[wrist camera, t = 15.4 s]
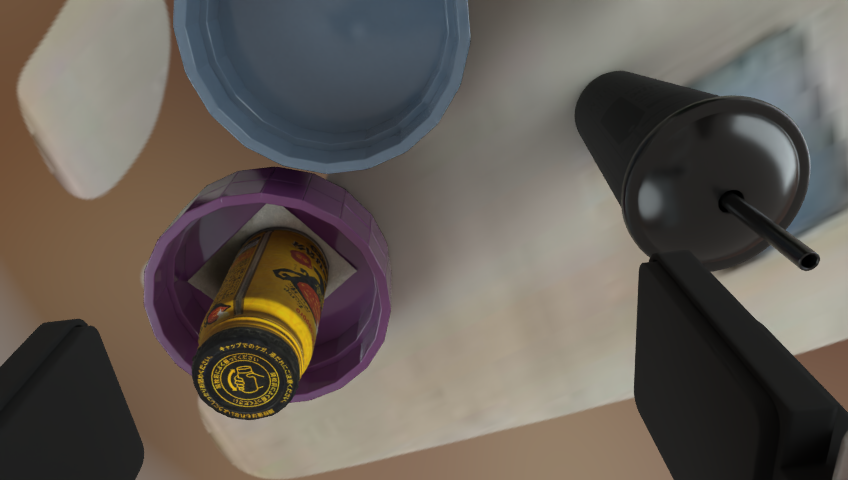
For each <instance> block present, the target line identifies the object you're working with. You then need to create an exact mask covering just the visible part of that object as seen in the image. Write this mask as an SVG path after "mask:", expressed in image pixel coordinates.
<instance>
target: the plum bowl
mask: <svg viewBox="0 0 848 480" xmlns="http://www.w3.org/2000/svg"><path fill="white" fill-rule="evenodd" d="M265 204H272V205H278V206H283V207H285V208H286V209H287V210H288V211H289V212H290V213H291V214H293V215H294V216H295V217H296V218H298V219H299V220H300V221H301V222H303V223H304V224H305V225H306V226H307V227H308V228H309V229H311V230H312V231H313V232H314V233H315V234H316V235H318V236H319V237H320V238H321V239H322V240H323V241H324V242H326V243H327V244H328V245H329V246H330V247H331V248H332V249H333V250H335V251H336V252H337V253H338V254H339V255H340V256H341V257H342V258H344V260H345V261H347V262H348V263H349V264H350V265H351V266H352V267H353V268H355V269H356V270H357V272H355V273H354V274H353V275H352V276H350V277H349V278H348V279H347V280H346V281H345V282H344V283H343V284H341V285H340V286H339V287H338V288H337V289H336V290H335V291H333V292H332V293H331V294H330V295H329V296H328V297H327V298H326V299H324V303H323V308H322V312H321V319H320V322H319V326H318V331H317V335H316V340H315V345H314V350H313V354H312V357H311V360H310V363H309V365H308V367H307V369H306V370H305V372H304V373H303V374H302V376H301V379H300V381H299V387H298V388H297V390H296V394H295V396H294V397H293V399H292V400H291V401H290V402H289V403H292V402H301V401H309V400H312V399H315V398H317V397H320V396H323V395H325V394H328V393H330V392H333V391H335V390H338V389H340V388H342V387H343V386H345V385H346V384H347V383H348V382H350V381H351V380H352V379H353V378H355V377H356V376H357V375H359V374H360V373H361V372H362V371H364V370H365V369H366V368H367V367H368V366H369V364H370V362H371V361H372V359H373V358H374V356H375V355H376V353H377V352H378V350H379V348H380V347H381V345H382V344H383V342H384V340H385V335H386V331H387V326H388V322H389V317H390V312H391V284H392V272H391V266H390V259H389V252H388V246H387V242H386V240H385V239H384V237H383V235H382V233H381V231H380V229H379V227H378V225H377V224H376V222H375V220H374V218H373V216H372V215H371V214H370V213H369V212H368V211H367V210H366V209H365V208H364V207H363V206H362V205H361V204H360V203H359V202H358V201H357V200H356V199H355V198H354V197H353V196H352V195H351V194H350V193H349V192H347V191H346V190H345V189H343V188H341V187H339V186H337V185H335V184H333V183H331V182H329V181H327V180H325V179H324V178H322V177H320V176H317V175H316V174H312V173H308V172H303V171H297V170H292V169H286V168H281V167H267V168H259V169H250V170H242V171H237V172H235V173H233V174H231V175H229V176H227V177H224V178H222V179H220V180H218V181H216V182H214V183H212V184H209V185H207V186H206V187H205V188H204V189H203V190H202V191H201V192H200V193H199V194H198V195H197V196H196V197H195V198H194V199H193V200H192V201H191V202H190V203H189V204H188V205H187V206H186V207H185V208H184V209H183V210H182V211H181V213H180V214H179V215H178V216H177V217H176V218H175V220H174V221H173V222H172V223H171V225H170V226H169V227H168V228H167V229H166V230H165V232H164V233H163V234H162V235H161V236H160V238H159V239H158V241H157V243H156V245H155V248H154V250H153V252H152V254H151V257H150V259H149V261H148V263H147V266H146V268H145V272H144V307H145V310H146V312H147V315H148V318H149V321H150V324H151V327H152V330H153V333H154V335H155V336H156V339H157V340H158V341H159V343H160V344H161V345H162V346H163V348H164V349H165V350H166V352H167V353H168V354H169V356H170V357H171V358H172V359H173V361H174V362H175V363H176V364H177V365H178V366H179V367H180V368H182V369H183V370H185V371H186V372H187V373H189V374H190V375H191V376H192V369H191V367H192V364H193V361H192V358H193V356H194V355H196V352H197V348H198V346H199V343H198V339H199V333H200V328H201V325H202V322H203V320H204V318H205V316H206V314H207V312H208V311H209V309H210V307H211V305H212V303H213V301H214V300H213V299H211V298H210V297H209V296H207V295H206V294H204V293H203V292H202V291H201V290H199V289H197V288H195V287H194V286H193V285H191V284H190V283H189V282H187V281H188V280H189V279H190V278H191V277H192V276H193V275H194V274H196V273H197V272H198V271H199V270H200V269H201V267H202V266H203V265H204V264H205V263H206V262H207V261H208V260H209V259H211V258H212V257H213V256H214V255H215V254H216V253H217V252H218V251H219V250H220V249H221V248H222V247H223V246H224V245H225V244H226V243H227V242H228V241H229V240H230V239H231V238H232V237H233V236H234V235H235V234H236V233H237V232H238V231H239V230H240V229H241V228H242V227H243V226H244V225H245V224H246V223H247V222H248V221H249V220H250V219H251V218H252V217H253V216H254V215H255V214H256V213H257V212H258V211H259V210H260V209H261V208H262V207H263V206H264V205H265Z"/></svg>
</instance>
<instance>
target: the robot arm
mask: <svg viewBox="0 0 848 480" xmlns="http://www.w3.org/2000/svg"><path fill="white" fill-rule="evenodd" d="M634 396H635V402H636V405H637V409H638V411H639V413H640V415H641V417H642V419H643V421H644V423H645V425H646V427H647V429H648V431H649V433H650V434H651V436H652V438H653V440H654V442H655V444H656V446H657V448H658V450H659V452H660V454H661V456H662V458H663V460H664V462H665V463H666V465H667V467H668V469H669V471H670V473H671V475H672V477H673V479H674V480H848V412H847V411H846V410H845V409H844V408H843V407H842V406H841V405H840V404H839V403H838V402H837V401H836V400H835V398H833V396H832V395H831V394H830V393H829V392H828V391H827V390H826V389H825V388H824V387H823V386H822V385H821V384H820V383H819V382H818V381H817V380H816V379H815V378H814V377H813V376H812V375H811V374H810V373H809V372H808V371H807V370H806V369H805V367H803V365H802V364H801V363H800V362H799V361H798V360H797V359H796V358H795V357H794V356H793V355H792V354H791V353H790V352H789V351H788V350H787V349H786V348H785V347H784V346H783V345H782V344H781V343H780V342H779V341H778V340H777V339H776V338H775V336H774V335H773V334H772V333H771V332H770V331H769V330H768V329H767V328H766V327H765V326H764V325H763V324H761V323H760V322H759V321H757V320H756V319H755V318H754V317H753V316H752V315H751V314H750V313H749V312H748V311H747V310H746V309H745V308H744V307H743V306H742V305H741V304H740V302H739V301H738V300H737V299H736V298H735V297H734V296H733V295H732V294H731V293H730V292H729V291H728V290H727V289H726V288H725V287H724V286H723V285H722V284H721V283H720V282H719V281H718V280H717V279H716V278H715V277H714V275H713V274H712V273H711V272H710V271H709V270H708V269H707V268H706V267H705V266H704V265H703V264H702V263H701V262H700V261H699V260H698V259H697V258H696V257H695V256H694V255H693V254H692V253H691V252H690V251H689V250H679V251H670V252H661V253H653V254H652V255H651V257H650V260H649V262H647V263H642V264H641V265H640V268H639V282H638V306H637V329H636V353H635V377H634ZM143 459H144V448H143V443H142V441H141V438H140V436H139V433H138V431H137V428H136V425H135V423H134V420H133V418H132V416H131V413H130V410H129V408H128V405H127V403H126V400H125V398H124V395H123V393H122V390H121V387H120V386H119V382H118V380H117V377H116V375H115V372H114V370H113V367H112V365H111V362H110V360H109V357H108V355H107V352H106V350H105V347H104V344H103V342H102V339H101V337H100V334H99V332H98V331H97V329H96V328H95V327H93V326H88V325H87V324H86V323H85V322H84V321H83V320H81V319H72V320H65V321H55V322H47V323H43V324H42V325H40V326H39V327H38V328H37V329H36V330H35V331H34V332H33V333H32V334H31V335H30V336H29V338H27V340H26V341H25V342H24V343H23V344H22V345H21V346H20V347H19V348H18V349H17V350H16V351H15V352H14V353H13V354H12V355H11V356H10V357H9V358H8V359H7V360H6V362H5V363H4V364H3V365H2V366H1V367H0V480H135V479H136V477H137V475H138V473H139V471H140V468H141V467H142V464H143Z"/></svg>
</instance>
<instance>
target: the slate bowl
mask: <svg viewBox="0 0 848 480" xmlns="http://www.w3.org/2000/svg"><path fill="white" fill-rule="evenodd" d="M173 26H174V32H175V35H176V39H177V43H178V47H179V51H180V54H181V58H182V62H183V65H184V69H185V73H186V75H187V77H188V78H189V80H190V82H191V83H192V85H193V87H194V88H195V90H196V92H197V93H198V95H199V97H200V98H201V100H202V102H203V103H204V105H205V106H206V108H207V110H208V111H209V113H210V114H211V115H212V117H214V118H215V119H216V120H217V121H218V122H219V123H220V124H221V125H222V126H223V127H224V128H226V129H227V130H228V131H229V132H230V133H231V134H232V135H233V136H234V137H235V138H236V139H237V140H238V141H239V142H240V143H242V144H243V145H244V146H245V147H247V148H249V149H251V150H253V151H255V152H257V153H259V154H261V155H263V156H265V157H267V158H269V159H271V160H273V161H274V162H277V163H278V164H280V165H282V166H286V167H291V168H297V169H303V170H308V171H313V172H319V173H324V174H326V173H327V174H331V173H339V172H348V171H357V170H365V169H370V168H372V167H374V166H376V165H379V164H381V163H383V162H385V161H387V160H390V159H392V158H394V157H396V156H399V155H401V154H403V153H405V152H407V151H408V150H409V149H410V148H411V147H413V146H414V145H415V144H416V143H417V142H418V141H419V140H420V139H422V138H423V137H424V136H425V135H426V134H427V133H428V132H429V131H430V130H432V129H433V128H434V127H435V126H436V125H437V124H438V123H439V121H440V120H441V118H442V116H443V114H444V113H445V111H446V109H447V108H448V106H449V104H450V102H451V101H452V99H453V97H454V96H455V94H456V92H457V91H458V89H459V87H460V85H461V81H462V77H463V72H464V68H465V64H466V59H467V55H468V51H469V46H470V42H471V40H470V39H471V35H470V22H469V8H468V0H174V17H173Z"/></svg>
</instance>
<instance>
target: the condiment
mask: <svg viewBox="0 0 848 480" xmlns="http://www.w3.org/2000/svg"><path fill="white" fill-rule="evenodd" d="M355 272H357V270H356V269H355V268H353V267H352V266H351V265H350V264H349V263H348V262H347V261H345V260H344V258H342V257H341V256H340V255H339V254H338V253H337V252H336V251H335V250H333V249H332V248H331V247H330V246H329V245H328V244H327V243H326V242H324V241H323V240H322V239H321V238H320V237H319V236H318V235H316V234H315V233H314V232H313V231H312V230H311V229H309V228H308V227H307V226H306V225H305V224H304V223H303V222H301V221H300V220H299V219H298V218H296V217H295V216H294V215H293V214H291V213H290V212H289V211H288V210H287V209H286V208H285V207H283V206H278V205H272V204H265V205H264V206H263V207H262V208H261V209H260V210H259V211H258V212H257V213H256V214H255V215H254V216H253V217H252V218H251V219H250V220H249V221H248V222H247V223H246V224H245V225H244V226H243V227H242V228H241V229H240V230H239V231H238V232H237V233H236V234H235V235H234V236H233V237H232V238H231V239H230V240H229V241H228V242H227V243H226V244H225V245H224V246H223V247H222V248H221V249H220V250H219V251H218V252H217V253H216V254H215V255H214V256H213V257H212V258H211V259H209V260H208V261H207V262H206V263H205V264H204V265H203V266H202V267H201V269H200V270H199V271H198V272H197V273H196V274H194V275H193V276H192V277H191V278H190V279H189V280H188V281H187V282H189V283H190V284H191V285H193V286H194V287H195V288H197V289H199V290H201V291H202V292H203V293H204V294H206V295H207V296H209V297H210V298H211V299H213V300H214V301H213V303H212V305H211V307H210V309H209V311H208V312H207V314H206V316H205V318H204V320H203V322H202V325H201V328H200V333H199V339H198V343H199V346H198V348H197V352H196V355H194V356H193V358H192V361H193V364H192V367H191V369H192V378H193V381H194V386H195V388H196V390H197V392H198V394H199V396H200V398H201V399H202V400H203V401H204V402H205V403H206V404H207V405H208V406H210V407H212V408H213V409H214V410H215V411H216V412H219V413H221V414H223V415H226V416H227V417H231V418H236V419H244V420H255V419H260V418H264V417H268V416H272V415H274V414H276V413H278V412H279V411H280V410H282V409H283V408H284V407H286V405H287V404H288V403H289V402H290V401H291V400H292V399H293V397H294V396H295V394H296V390H297V388H298V387H299V381H300V379H301V376H302V374H303V373H304V372H305V370H306V369H307V367H308V365H309V363H310V360H311V357H312V354H313V350H314V345H315V340H316V335H317V331H318V326H319V322H320V319H321V312H322V308H323V303H324V299H326V298H327V297H328V296H329V295H330V294H331V293H332V292H333V291H335V290H336V289H337V288H338V287H339V286H340V285H341V284H343V283H344V282H345V281H346V280H347V279H348V278H349V277H350V276H352V275H353V274H354V273H355Z"/></svg>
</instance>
